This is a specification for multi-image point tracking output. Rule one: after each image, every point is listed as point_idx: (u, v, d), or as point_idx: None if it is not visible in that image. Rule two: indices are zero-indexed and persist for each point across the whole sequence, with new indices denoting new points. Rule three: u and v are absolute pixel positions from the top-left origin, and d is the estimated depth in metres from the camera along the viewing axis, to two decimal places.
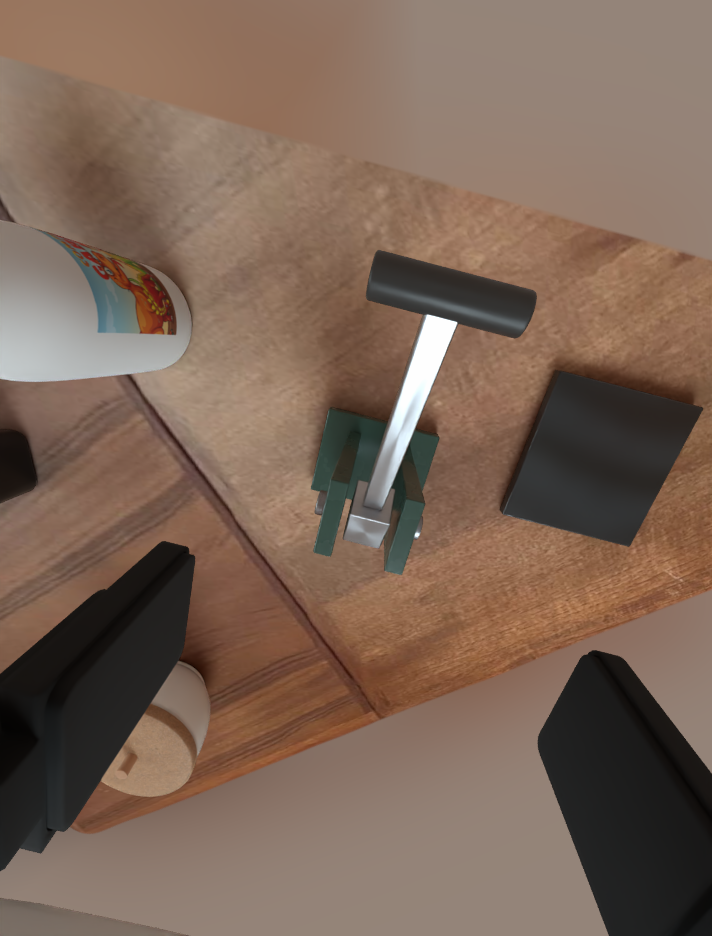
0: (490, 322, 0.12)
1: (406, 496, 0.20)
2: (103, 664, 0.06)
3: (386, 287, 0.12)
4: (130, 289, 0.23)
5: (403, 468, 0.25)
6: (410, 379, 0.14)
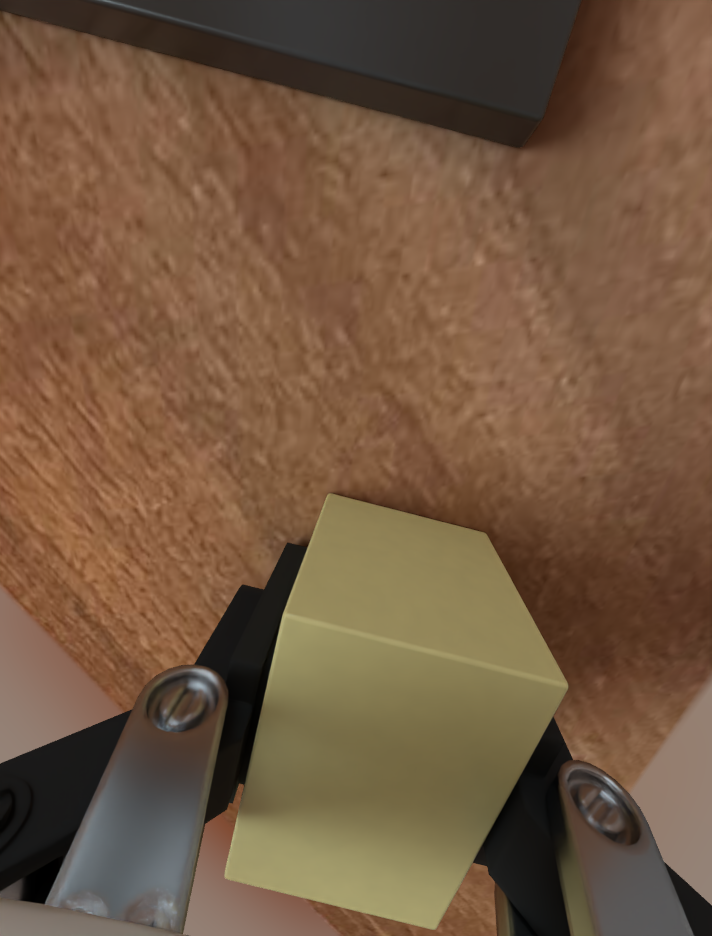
0: None
1: None
2: None
3: None
4: None
5: None
6: None
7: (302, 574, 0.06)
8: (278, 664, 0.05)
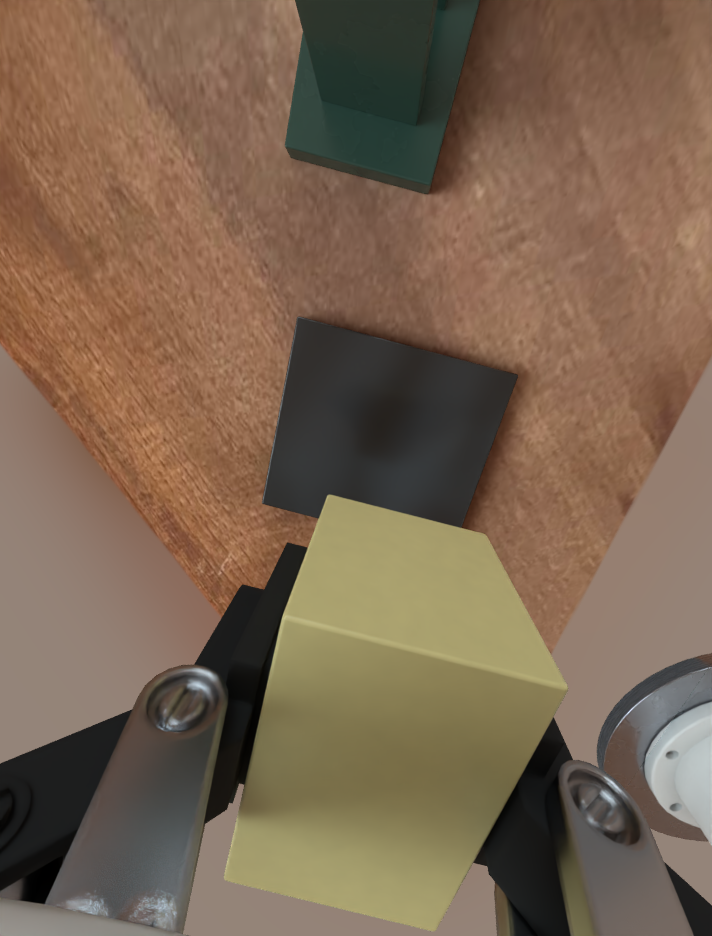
0: None
1: None
2: None
3: None
4: None
5: None
6: None
7: (302, 576, 0.06)
8: (278, 666, 0.05)
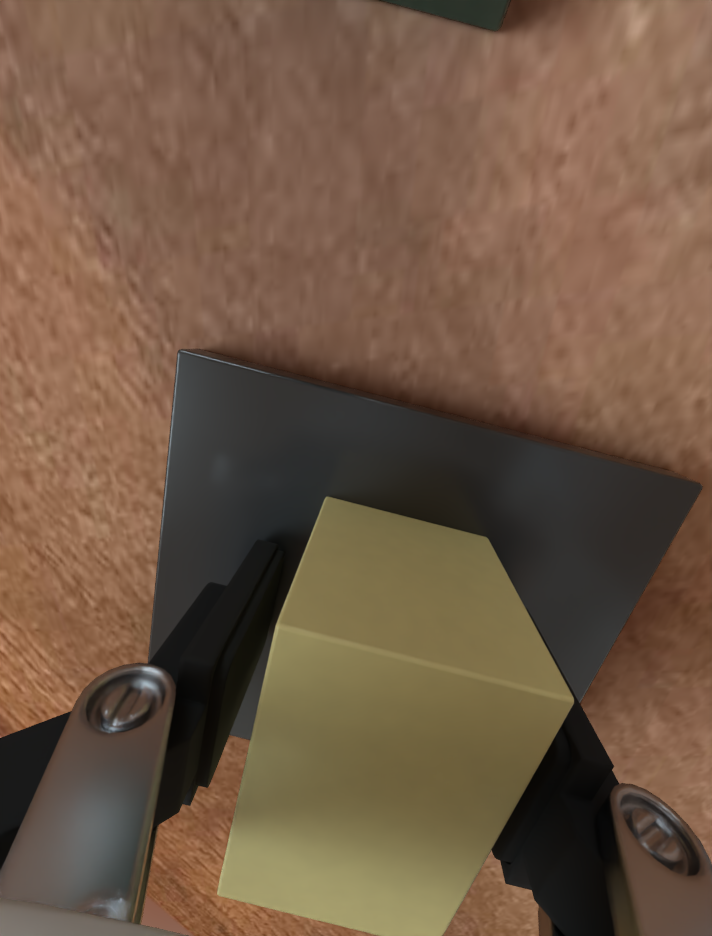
0: None
1: None
2: (243, 643, 0.07)
3: None
4: None
5: None
6: None
7: (297, 582, 0.06)
8: (271, 676, 0.05)
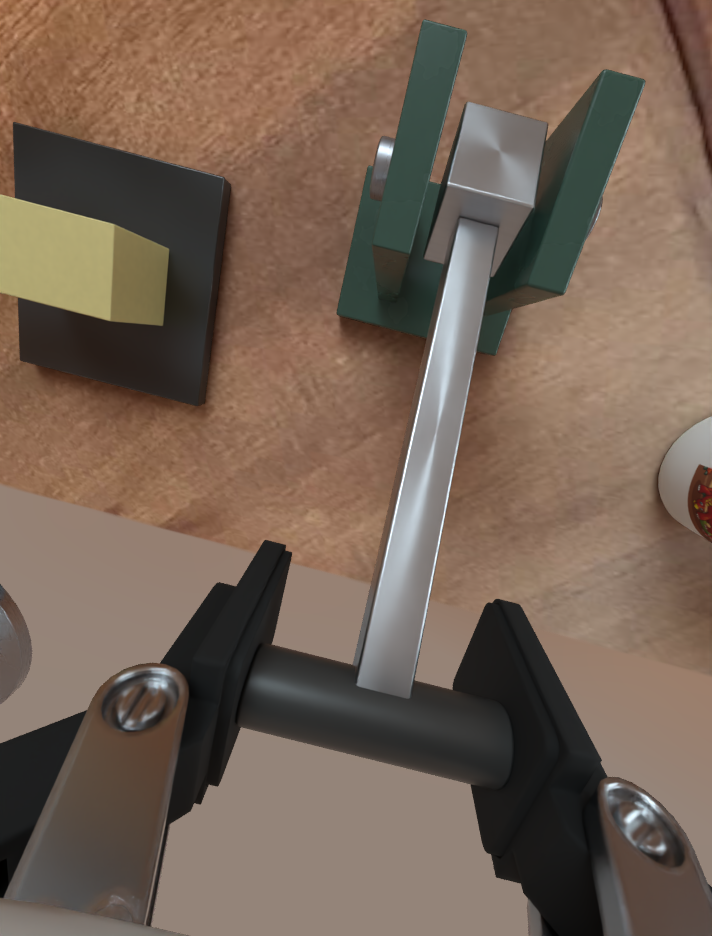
0: (303, 698, 0.07)
1: (408, 256, 0.10)
2: (253, 643, 0.07)
3: (481, 757, 0.07)
4: None
5: (398, 284, 0.14)
6: (426, 561, 0.08)
7: (128, 232, 0.17)
8: (94, 221, 0.17)
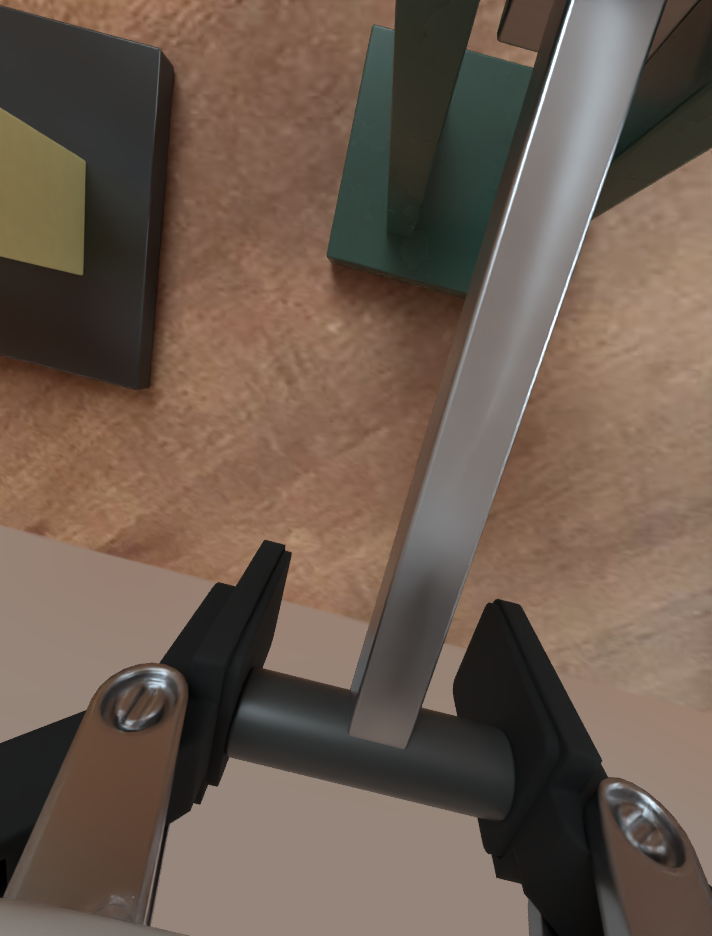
0: (290, 750, 0.06)
1: None
2: (252, 643, 0.07)
3: (477, 805, 0.07)
4: None
5: (430, 158, 0.08)
6: (438, 621, 0.06)
7: None
8: None
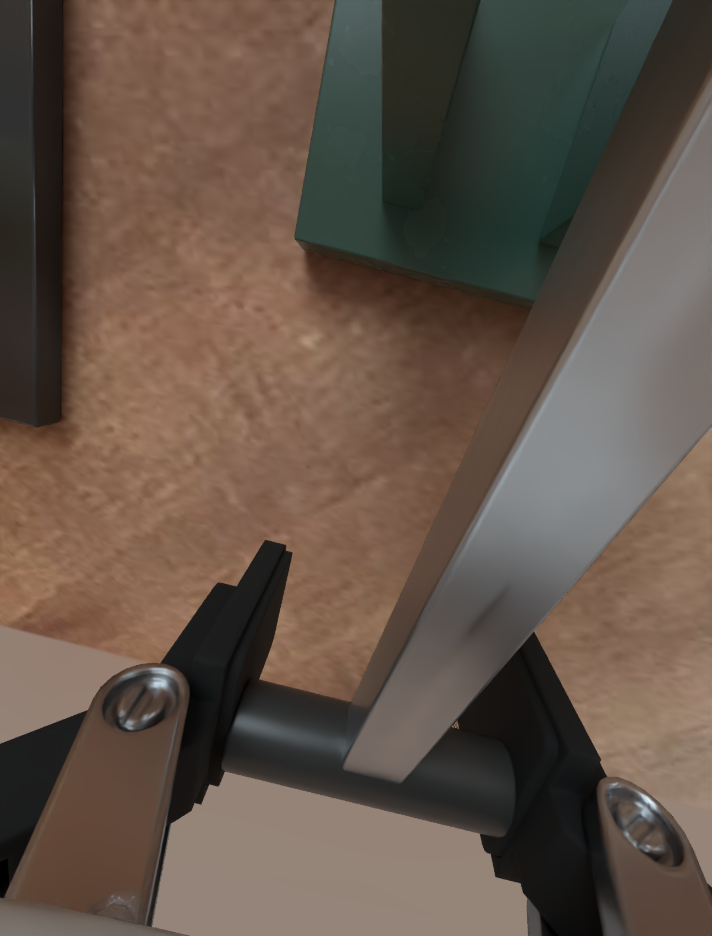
0: (283, 778, 0.06)
1: None
2: (254, 643, 0.07)
3: (471, 827, 0.07)
4: None
5: None
6: (442, 718, 0.05)
7: None
8: None
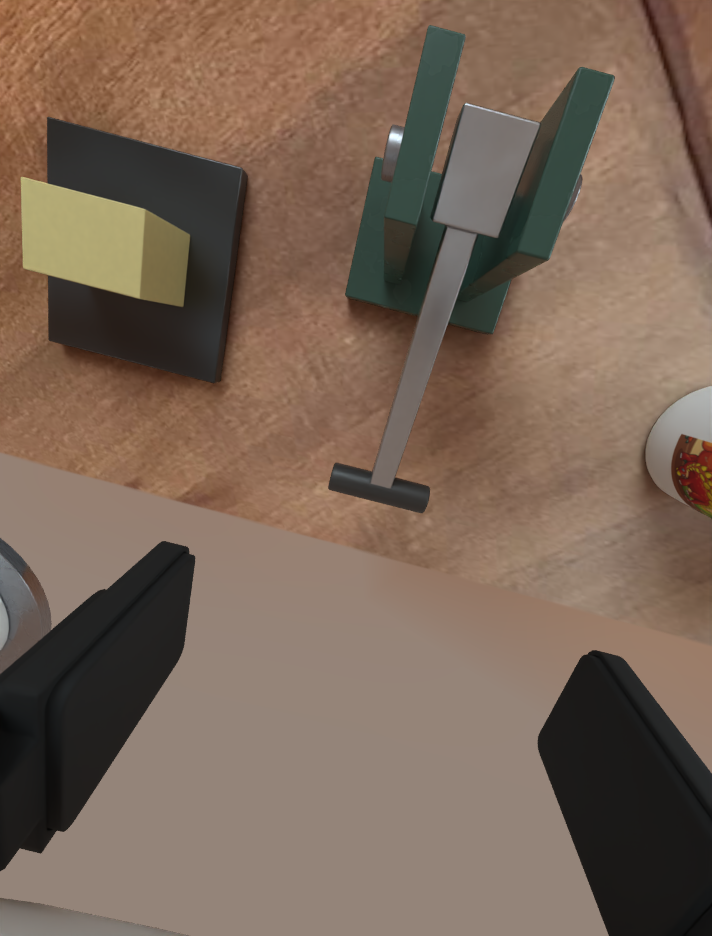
0: (350, 486, 0.19)
1: (415, 228, 0.12)
2: (103, 664, 0.06)
3: (414, 506, 0.19)
4: None
5: (404, 261, 0.16)
6: (400, 446, 0.18)
7: (156, 217, 0.19)
8: (127, 206, 0.18)
